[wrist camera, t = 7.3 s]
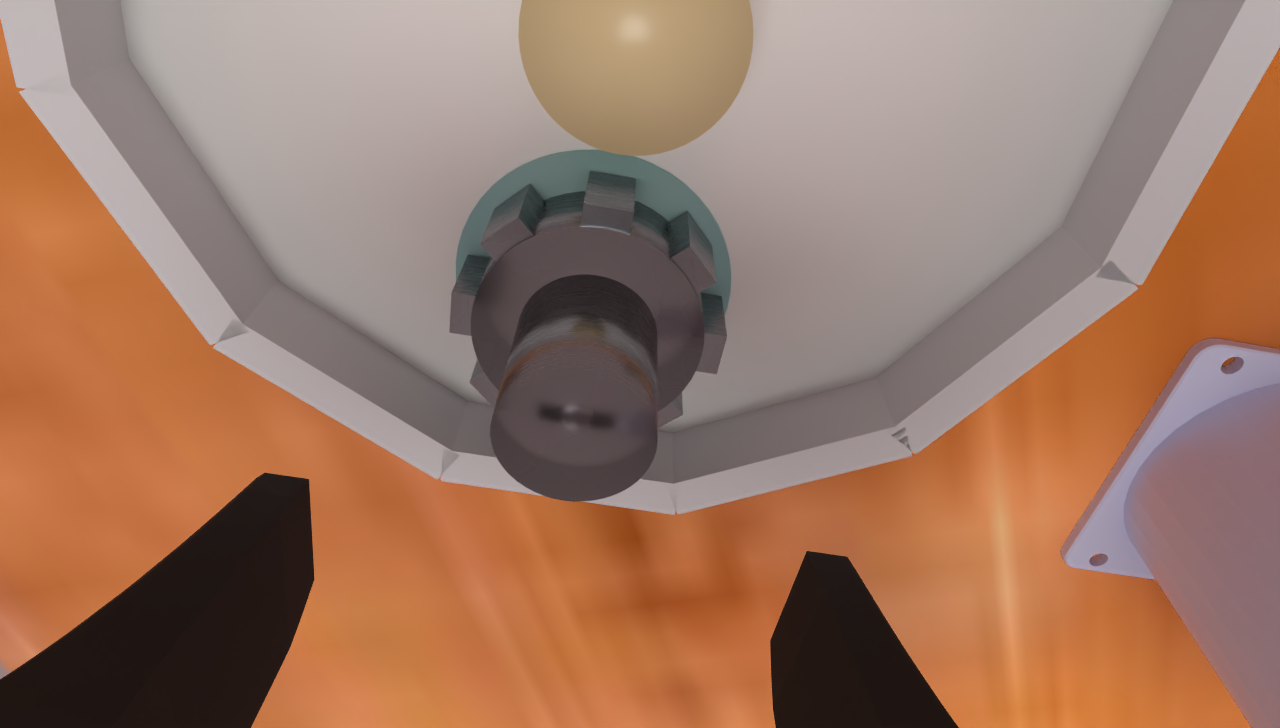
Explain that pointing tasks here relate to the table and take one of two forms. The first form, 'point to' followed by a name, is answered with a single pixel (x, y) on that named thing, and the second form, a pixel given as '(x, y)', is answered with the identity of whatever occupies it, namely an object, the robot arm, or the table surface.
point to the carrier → (652, 191)
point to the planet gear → (586, 333)
